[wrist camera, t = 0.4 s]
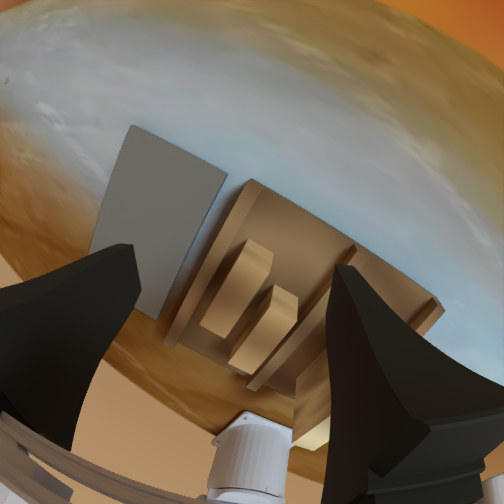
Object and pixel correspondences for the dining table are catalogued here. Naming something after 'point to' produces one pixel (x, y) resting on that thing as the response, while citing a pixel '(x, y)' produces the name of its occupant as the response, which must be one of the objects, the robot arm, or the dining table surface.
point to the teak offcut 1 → (238, 288)
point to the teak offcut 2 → (264, 330)
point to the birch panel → (312, 405)
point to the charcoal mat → (156, 210)
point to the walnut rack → (290, 285)
